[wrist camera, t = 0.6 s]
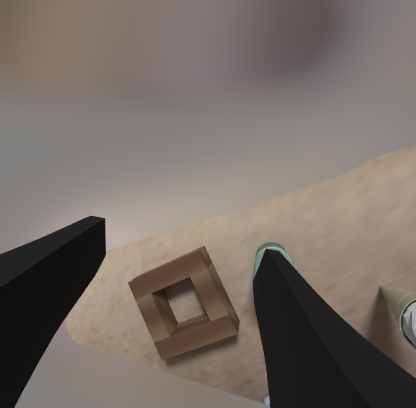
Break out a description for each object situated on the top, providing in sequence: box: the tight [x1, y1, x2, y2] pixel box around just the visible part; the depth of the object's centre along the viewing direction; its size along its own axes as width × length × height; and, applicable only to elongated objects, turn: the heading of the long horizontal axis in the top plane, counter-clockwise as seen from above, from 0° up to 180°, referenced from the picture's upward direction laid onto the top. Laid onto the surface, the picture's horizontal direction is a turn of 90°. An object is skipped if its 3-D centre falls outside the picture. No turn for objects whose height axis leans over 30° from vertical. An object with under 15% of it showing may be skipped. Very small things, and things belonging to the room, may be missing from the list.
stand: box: [128, 246, 240, 360], centre depth 30 cm, size 11×11×3 cm
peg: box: [255, 243, 294, 275], centre depth 26 cm, size 4×4×7 cm
